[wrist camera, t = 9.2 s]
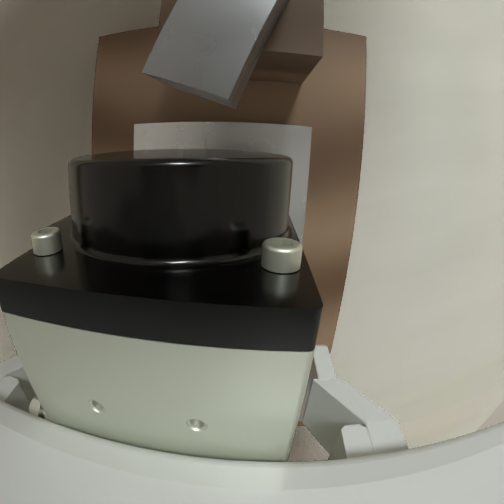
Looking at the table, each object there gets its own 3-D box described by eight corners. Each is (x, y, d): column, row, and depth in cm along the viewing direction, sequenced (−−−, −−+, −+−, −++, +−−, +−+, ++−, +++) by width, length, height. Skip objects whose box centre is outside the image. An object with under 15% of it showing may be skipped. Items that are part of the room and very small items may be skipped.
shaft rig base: (111, 43, 13) (44, 10, 7) (357, 44, 13) (408, -1, 7) (138, 397, 21) (113, 461, 15) (308, 410, 21) (318, 481, 15)
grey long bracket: (144, 26, 11) (68, -34, 5) (314, 25, 11) (355, -53, 4) (164, 417, 20) (141, 497, 13) (276, 426, 20) (278, 512, 13)
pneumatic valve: (277, 148, 13) (390, 197, 2) (260, 365, 17) (258, 572, 6) (154, 145, 13) (-103, 201, 2) (165, 356, 17) (100, 545, 6)
